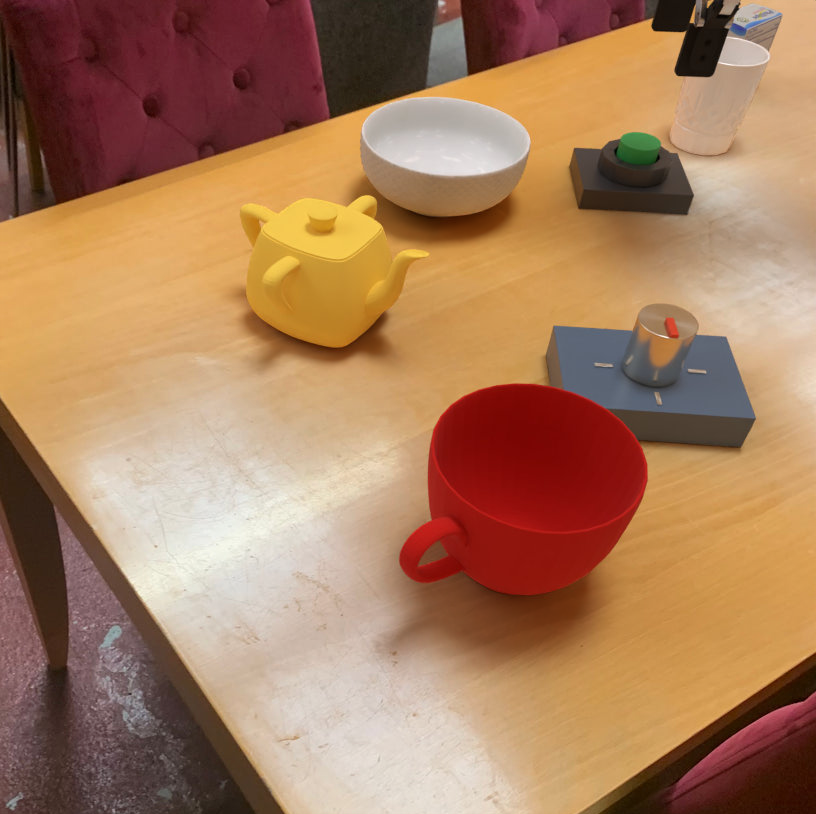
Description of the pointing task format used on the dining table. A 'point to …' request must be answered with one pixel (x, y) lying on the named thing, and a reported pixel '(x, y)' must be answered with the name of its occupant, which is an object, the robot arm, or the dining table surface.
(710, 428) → the panel
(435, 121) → the cereal bowl
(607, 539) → the ceramic cup
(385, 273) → the teapot
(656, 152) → the button
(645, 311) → the program dial
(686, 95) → the white cup
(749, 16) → the medicine box
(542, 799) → the dining table surface
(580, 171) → the button block
